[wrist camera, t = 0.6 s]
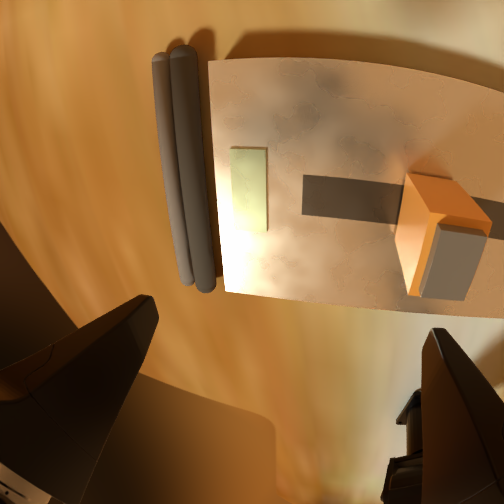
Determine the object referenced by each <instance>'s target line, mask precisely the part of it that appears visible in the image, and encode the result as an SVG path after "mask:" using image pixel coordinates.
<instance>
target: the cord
mask: <svg viewBox="0 0 504 504" xmlns="http://www.w3.org/2000/svg"><path fill="white" fill-rule="evenodd" d="M152 74H153V87H154V99H155V109H156V120H157V129H158V138H159V147H160V155H161V163H162V171H163V178H164V185H165V192H166V199H167V206H168V212H169V218H170V225H171V231H172V237H173V242H174V248H175V254H176V259H177V264H178V270H179V275H180V280H181V282H182V284H183V285H185V286H191V285H192V284H194V282H195V284H196V287H197V289H198V290H199V291H200V292H202V293H210V292H212V291H213V290H214V289H215V287H216V274H215V265H214V256H213V247H212V238H211V229H210V219H209V209H208V198H207V188H206V177H205V165H204V153H203V141H202V127H201V113H200V98H199V82H198V64H197V53H196V51H195V49H194V48H193V47H191V46H189V45H180V46H177V47H176V48H175V49H173V51H172V52H171V54H170V55H169V54H167V53H165V52H159V53H157V54H155V55H154V57H153V58H152Z"/></svg>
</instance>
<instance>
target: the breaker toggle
mask: <svg viewBox="0 0 504 504" xmlns="http://www.w3.org/2000/svg"><path fill="white" fill-rule="evenodd" d="M491 226H492V221H491V220H490V219H489V217H488V216H487V215H486V214H485V213H484V211H483V210H482V209H481V208H480V207H479V206H478V204H477V203H476V202H475V201H474V200H473V199H472V198H471V197H470V195H469V194H468V193H467V192H466V191H465V190H464V189H463V188H462V187H461V186H460V185H459V184H458V182H457V181H453V180H448V179H442V178H436V177H430V176H424V175H418V174H411V173H406V177H405V184H404V191H403V197H402V203H401V209H400V214H399V220H398V225H397V230H396V235H395V243H396V247H397V251H398V255H399V259H400V263H401V267H402V271H403V275H404V279H405V284H406V288H407V293H408V295H411V296H420V297H421V298H432V299H443V300H455V301H464V300H465V298H466V296H467V294H468V291H469V289H470V286H471V284H472V281H473V279H474V276H475V273H476V271H477V268H478V265H479V263H480V260H481V257H482V254H483V251H484V248H485V245H486V242H487V239H488V236H489V233H490V229H491Z"/></svg>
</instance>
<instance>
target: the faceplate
mask: <svg viewBox="0 0 504 504" xmlns="http://www.w3.org/2000/svg"><path fill="white" fill-rule="evenodd" d="M208 73H209V91H210V108H211V124H212V139H213V153H214V167H215V180H216V193H217V205H218V217H219V228H220V239H221V250H222V261H223V271H224V281H225V291H230V292H237V293H244V294H251V295H259V296H266V297H274V298H281V299H289V300H297V301H306V302H314V303H323V304H331V305H341V306H350V307H359V308H369V309H380V310H390V311H401V312H413V313H425V314H438V315H452V316H468V317H485V318H504V93H503V92H500V91H497V90H494V89H491V88H488V87H484V86H481V85H478V84H474V83H471V82H467V81H463V80H460V79H456V78H452V77H448V76H443V75H439V74H435V73H430V72H425V71H420V70H415V69H409V68H404V67H398V66H391V65H384V64H377V63H369V62H360V61H350V60H338V59H322V58H290V57H275V58H243V59H227V60H215V61H208ZM406 173H411V174H418V175H424V176H430V177H436V178H442V179H448V180H453V181H457V182H458V184H459V185H460V186H461V187H462V188H463V189H464V190H465V191H466V192H467V193H468V194H469V195H470V197H471V198H472V199H473V200H474V201H475V202H476V203H477V204H478V206H479V207H480V208H481V209H482V210H483V211H484V213H485V214H486V215H487V216H488V217H489V219H490V220H491V221H492V226H491V229H490V233H489V236H488V239H487V242H486V245H485V248H484V251H483V254H482V257H481V260H480V263H479V265H478V268H477V271H476V273H475V276H474V279H473V281H472V284H471V286H470V289H469V291H468V294H467V296H466V298H465V300H464V301H455V300H443V299H432V298H421V297H420V296H411V295H408V293H407V288H406V284H405V279H404V275H403V271H402V267H401V263H400V259H399V255H398V251H397V247H396V243H395V235H396V230H397V225H398V220H399V214H400V209H401V203H402V197H403V191H404V184H405V177H406Z"/></svg>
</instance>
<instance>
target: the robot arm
mask: <svg viewBox="0 0 504 504" xmlns="http://www.w3.org/2000/svg"><path fill="white" fill-rule="evenodd" d="M158 320H159V314H158V311H157V308H156V305H155V301H154V298H153V297H152V296H149V295H143V294H141V295H138V296H136V297H135V298H133V299H131V300H129V301H127V302H126V303H124V304H122V305H120V306H119V307H117V308H115V309H113V310H111V311H110V312H108V313H106V314H104V315H102V316H101V317H99V318H97V319H95V320H94V321H92V322H90V323H88V324H86V325H85V326H83V327H81V328H79V329H78V330H76V331H74V332H72V333H71V334H69V335H67V336H65V337H64V338H62V339H60V340H58V341H57V342H55V344H54V343H53V344H51V345H50V346H48V347H46V348H44V349H42V350H41V351H39V352H37V353H35V354H33V355H31V356H29V357H27V358H25V359H23V360H21V361H19V362H17V363H15V364H13V365H11V366H8V367H6V368H4V369H3V370H0V504H47V503H48V501H49V499H50V498H51V496H52V497H54V498H56V499H58V500H59V501H61V502H63V503H65V504H80V501H81V499H82V497H83V494H84V492H85V489H86V487H87V485H88V482H89V480H90V477H91V475H92V473H93V470H94V468H95V466H96V463H97V461H98V458H99V456H100V454H101V451H102V449H103V447H104V445H105V443H106V440H107V438H108V436H109V434H110V431H111V429H112V427H113V425H114V423H115V420H116V418H117V416H118V414H119V412H120V410H121V407H122V405H123V403H124V401H125V399H126V397H127V395H128V392H129V390H130V388H131V386H132V384H133V382H134V380H135V378H136V376H137V374H138V372H139V370H140V368H141V366H142V363H143V361H144V359H145V356H146V354H147V351H148V348H149V345H150V343H151V340H152V337H153V335H154V332H155V329H156V326H157V324H158ZM396 424H398V425H406V432H407V456H403V457H398V458H395V457H394V458H390V462H389V465H388V468H387V473H386V478H385V483H384V488H383V491H382V494H381V497H380V498H381V501H383V502H384V504H504V402H503V401H502V400H501V398H500V397H499V396H498V394H497V393H496V392H495V390H494V389H493V388H492V386H491V385H490V384H489V382H488V381H487V380H486V378H485V377H484V376H483V374H482V373H481V372H480V371H479V369H478V368H477V367H476V366H475V364H474V363H473V362H472V361H471V359H470V358H469V357H468V356H467V354H466V353H465V352H464V351H463V349H462V348H461V347H460V346H459V345H458V343H457V342H456V341H455V340H454V339H453V337H452V336H451V335H450V334H449V333H448V332H447V330H446V329H444V328H432V329H431V330H430V332H429V334H428V337H427V339H426V341H425V343H424V346H423V349H422V380H421V392H415V393H413V395H412V396H411V398H410V399H409V401H408V403H407V404H406V406H405V407H404V409H403V410H402V412H401V413H400V415H399V416H398V418H397V419H396Z"/></svg>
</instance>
